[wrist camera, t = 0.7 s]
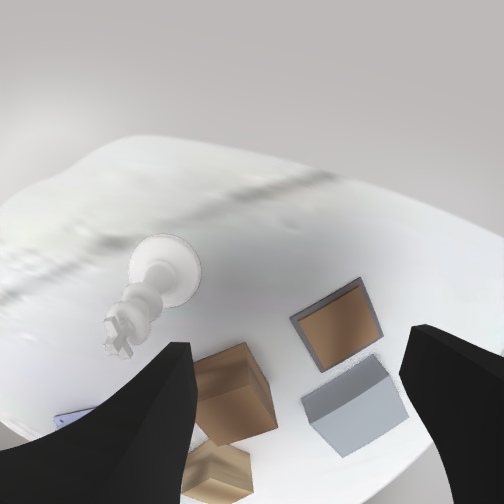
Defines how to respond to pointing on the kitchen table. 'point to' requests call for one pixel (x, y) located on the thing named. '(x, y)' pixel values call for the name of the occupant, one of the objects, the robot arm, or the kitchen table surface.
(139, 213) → the kitchen table surface
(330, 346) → the walnut swatch
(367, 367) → the base block
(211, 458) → the oak block
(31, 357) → the kitchen table surface
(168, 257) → the chess piece
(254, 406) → the walnut block
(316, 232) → the kitchen table surface
